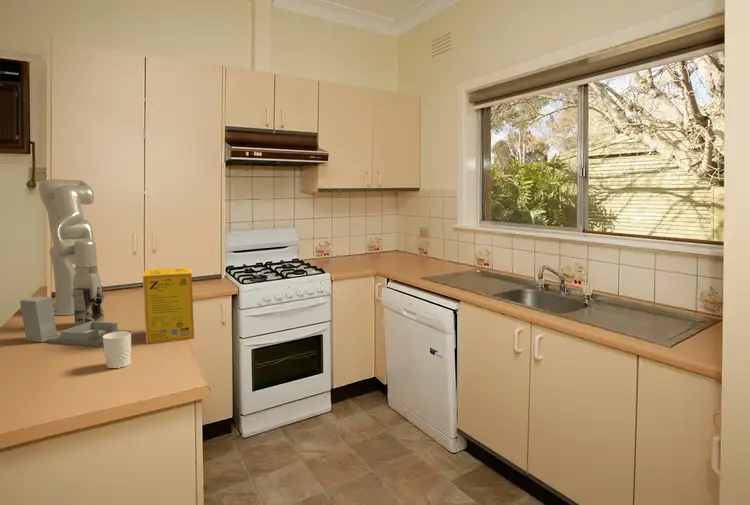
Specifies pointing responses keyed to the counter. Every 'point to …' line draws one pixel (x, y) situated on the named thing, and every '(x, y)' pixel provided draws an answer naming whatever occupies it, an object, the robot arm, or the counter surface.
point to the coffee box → (85, 307)
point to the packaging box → (168, 304)
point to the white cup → (117, 349)
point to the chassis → (86, 334)
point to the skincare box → (38, 318)
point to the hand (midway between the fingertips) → (89, 313)
